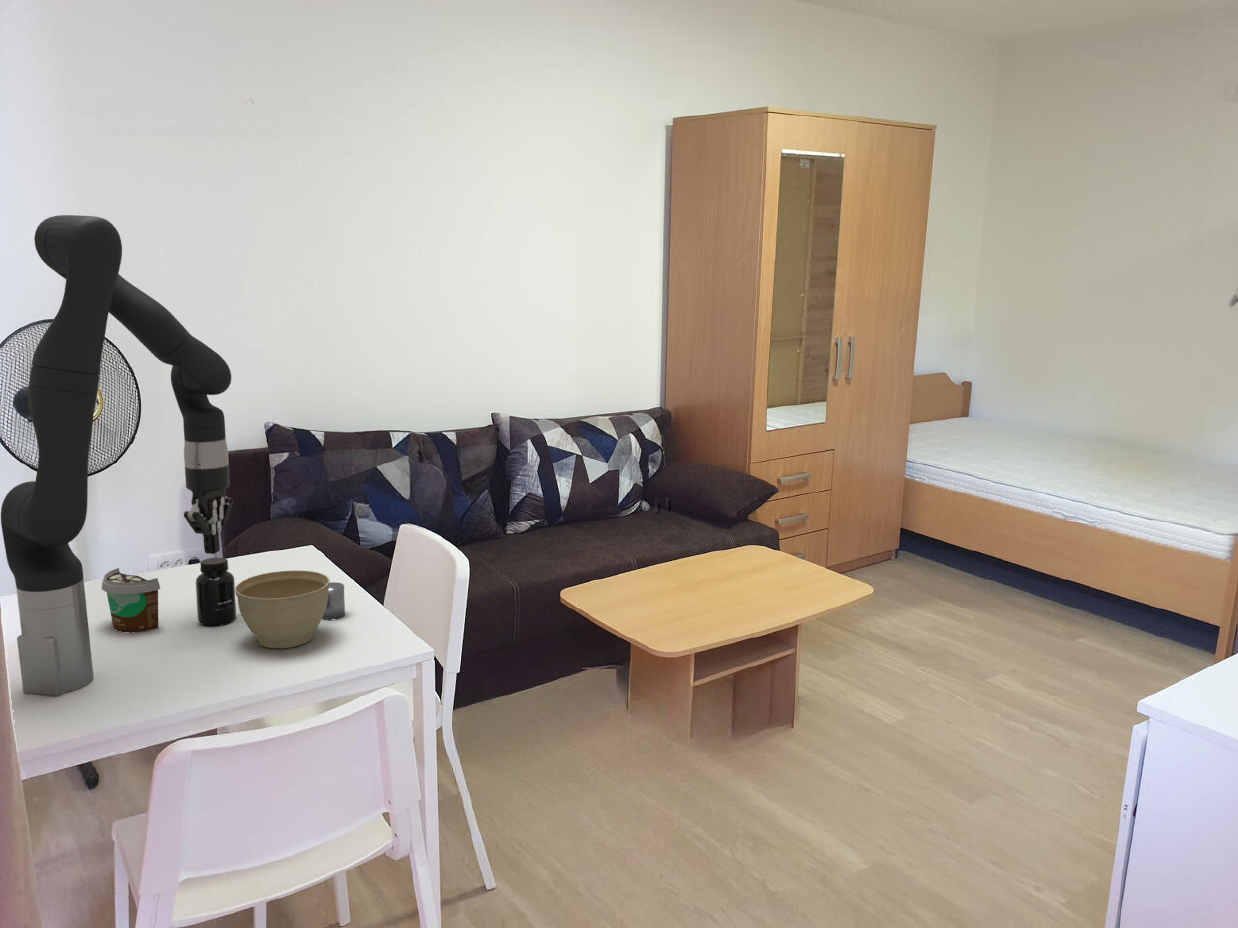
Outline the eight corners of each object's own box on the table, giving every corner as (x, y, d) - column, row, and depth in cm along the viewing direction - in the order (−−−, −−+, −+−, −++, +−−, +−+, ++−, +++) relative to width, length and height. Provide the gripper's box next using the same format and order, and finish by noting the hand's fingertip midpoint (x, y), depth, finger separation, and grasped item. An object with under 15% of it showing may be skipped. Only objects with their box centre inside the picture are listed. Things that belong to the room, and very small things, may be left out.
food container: (91, 626, 175) (85, 576, 173) (121, 616, 180) (116, 567, 178) (133, 640, 169) (128, 588, 167) (163, 629, 174) (159, 578, 172)
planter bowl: (348, 628, 177) (346, 574, 174) (298, 662, 161) (295, 603, 159) (275, 618, 181) (272, 565, 179) (219, 650, 166) (215, 592, 163)
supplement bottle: (227, 627, 176) (223, 567, 173) (191, 626, 176) (187, 565, 174) (242, 614, 183) (238, 555, 180) (208, 613, 183) (203, 554, 180)
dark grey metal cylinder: (338, 621, 180) (336, 591, 179) (313, 619, 181) (312, 589, 180) (349, 611, 185) (348, 583, 184) (325, 610, 186) (324, 581, 185)
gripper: (204, 471, 166) (210, 564, 169) (244, 457, 179) (249, 544, 182) (165, 469, 167) (172, 561, 171) (208, 455, 180) (214, 541, 183)
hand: (212, 552), depth 176 cm, fingers closed
